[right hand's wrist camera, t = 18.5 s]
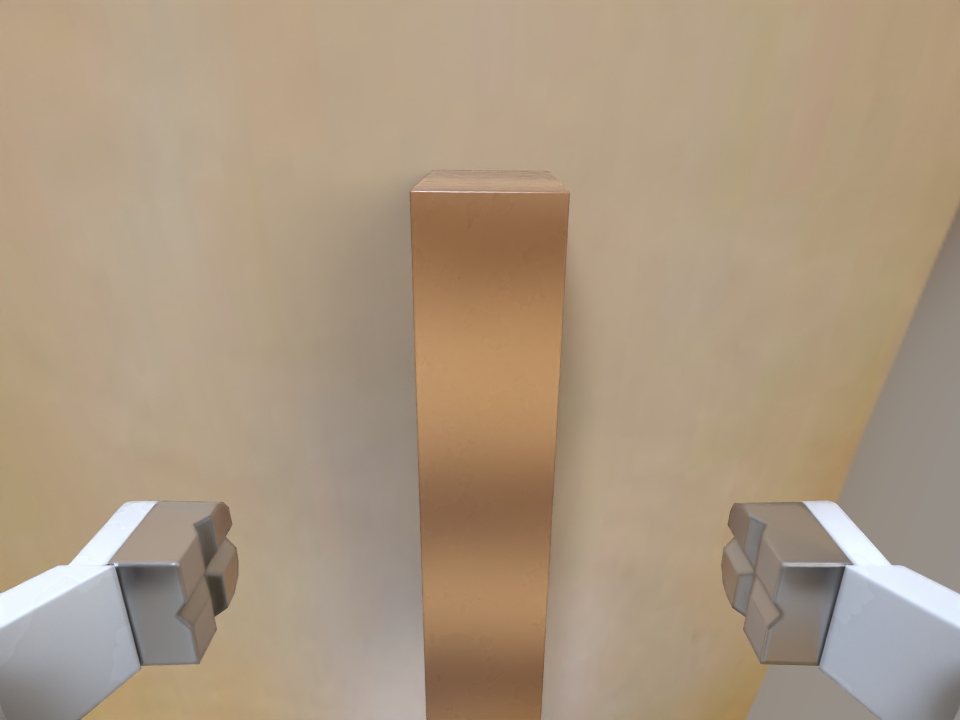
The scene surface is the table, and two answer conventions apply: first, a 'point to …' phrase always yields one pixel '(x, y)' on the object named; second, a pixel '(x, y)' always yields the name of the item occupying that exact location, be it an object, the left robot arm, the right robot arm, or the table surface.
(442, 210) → the bar
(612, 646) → the table surface
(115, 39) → the table surface
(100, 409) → the table surface
